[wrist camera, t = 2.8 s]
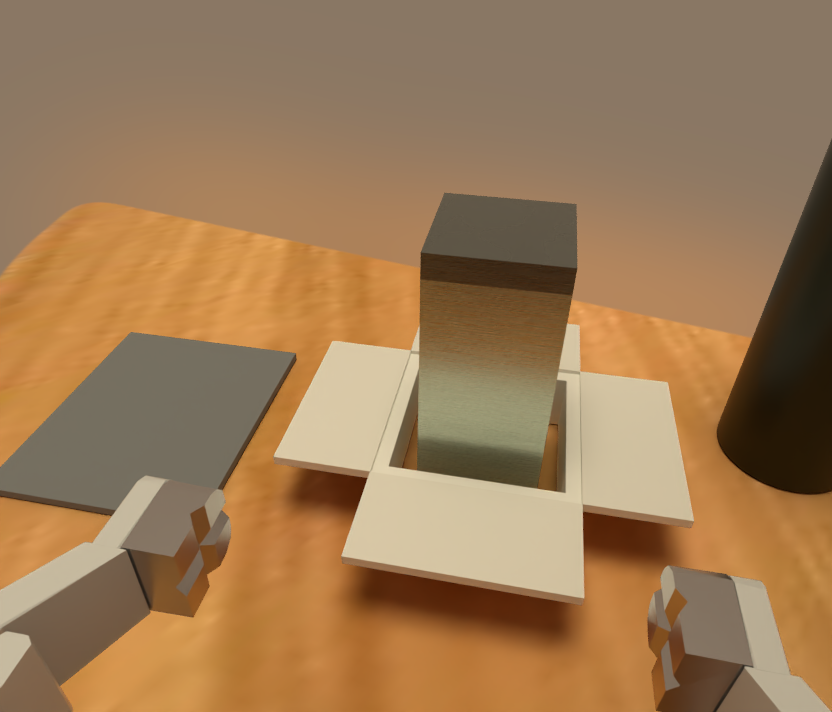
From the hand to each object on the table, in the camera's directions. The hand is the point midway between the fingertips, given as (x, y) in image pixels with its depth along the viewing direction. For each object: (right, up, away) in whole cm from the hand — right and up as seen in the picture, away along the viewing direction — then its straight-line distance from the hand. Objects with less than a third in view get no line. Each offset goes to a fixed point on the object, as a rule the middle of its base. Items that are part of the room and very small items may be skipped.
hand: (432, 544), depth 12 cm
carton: (+3, -2, +18) cm, 18 cm away
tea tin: (+3, -2, +18) cm, 18 cm away
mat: (-13, 0, +20) cm, 24 cm away
